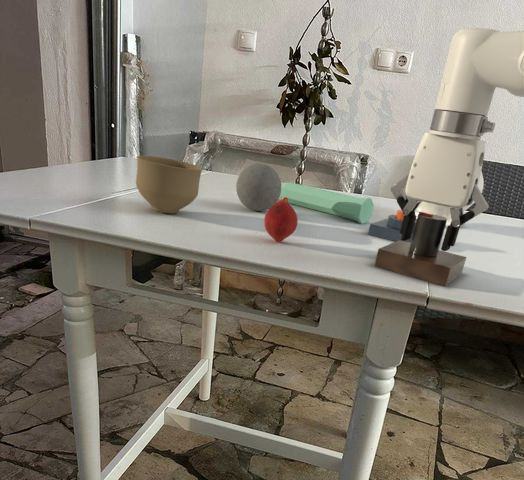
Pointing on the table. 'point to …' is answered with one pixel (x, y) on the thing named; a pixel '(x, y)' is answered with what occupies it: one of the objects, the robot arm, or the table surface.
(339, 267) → the table surface
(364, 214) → the green hexagonal prism
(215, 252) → the table surface
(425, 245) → the knob
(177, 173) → the bowl
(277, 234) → the onion
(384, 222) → the button box
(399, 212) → the button
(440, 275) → the brown rectangular block
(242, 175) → the decorative ball
